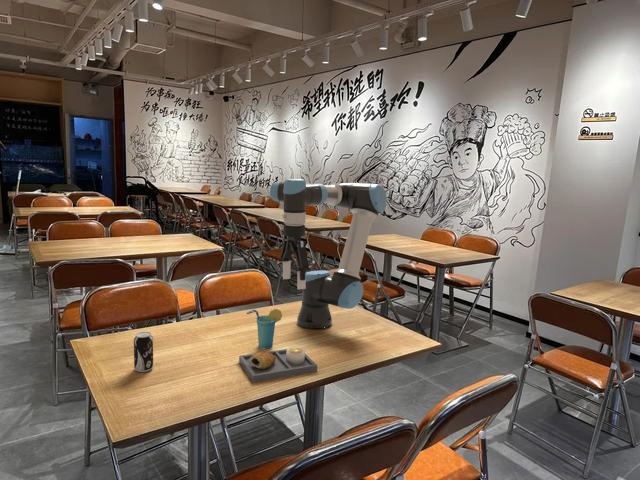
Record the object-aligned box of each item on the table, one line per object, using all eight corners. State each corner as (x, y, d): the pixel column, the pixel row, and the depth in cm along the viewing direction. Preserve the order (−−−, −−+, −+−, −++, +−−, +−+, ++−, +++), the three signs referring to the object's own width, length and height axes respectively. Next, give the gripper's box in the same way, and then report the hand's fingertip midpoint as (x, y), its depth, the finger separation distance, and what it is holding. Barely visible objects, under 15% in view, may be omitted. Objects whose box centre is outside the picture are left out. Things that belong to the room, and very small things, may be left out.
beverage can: (141, 375, 139) (141, 338, 137) (130, 370, 142) (129, 334, 140) (157, 368, 144) (156, 333, 142) (145, 364, 147) (145, 329, 145)
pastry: (265, 356, 153) (267, 345, 152) (280, 363, 149) (282, 353, 148) (246, 363, 145) (248, 353, 144) (261, 372, 141) (263, 361, 141)
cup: (250, 353, 158) (251, 313, 156) (241, 346, 165) (242, 307, 162) (284, 346, 166) (286, 308, 164) (274, 339, 172) (275, 302, 170)
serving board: (239, 361, 151) (239, 348, 151) (298, 352, 161) (298, 340, 160) (253, 382, 137) (253, 367, 136) (317, 371, 147) (317, 357, 146)
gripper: (271, 219, 162) (271, 275, 166) (298, 230, 140) (297, 294, 144) (290, 218, 165) (290, 274, 169) (319, 229, 143) (318, 292, 147)
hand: (293, 283), depth 156 cm, fingers open, 13 cm apart
